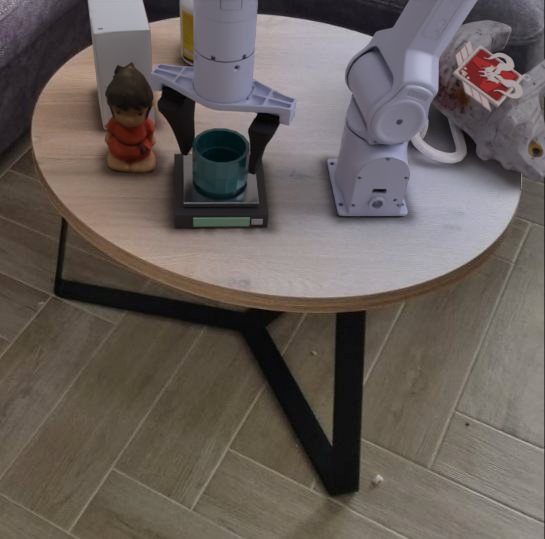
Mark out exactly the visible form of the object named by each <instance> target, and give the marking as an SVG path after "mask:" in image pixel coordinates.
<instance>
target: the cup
mask: <svg viewBox="0 0 545 539" xmlns="http://www.w3.org/2000/svg"><path fill="white" fill-rule="evenodd" d="M191 151H192V153H191V154H192V177H193V179H194V181H195V183H196V184H197V185H198V186H199V187H201V188H202V189H204V190H205V191H207V192H210V193H213V194H228V193H232V192H234V191H236V190H238V189H239V188H241V187H242V186H244V185H245V183H246V181H247V179H248V165H249V155H250V141H249V140H248V139H247V138H246V136H245V135H243V134H242V133H240V132H238V131H237V130H233V129H230V128H225V127H223V128H222V127H214V128H211V129H206V130H203V131H202V132H199V133H198V134H197V135H195V139H194V140H193V142H192V149H191Z"/></svg>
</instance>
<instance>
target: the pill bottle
mask: <svg viewBox="0 0 545 539" xmlns="http://www.w3.org/2000/svg"><path fill="white" fill-rule="evenodd" d="M179 32H180V34H179V35H180V36H179V37H180V56H181V58H182V60H183V61H184V62H185V63H187V65H190V66H191V67H194V45H193V0H179Z"/></svg>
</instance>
